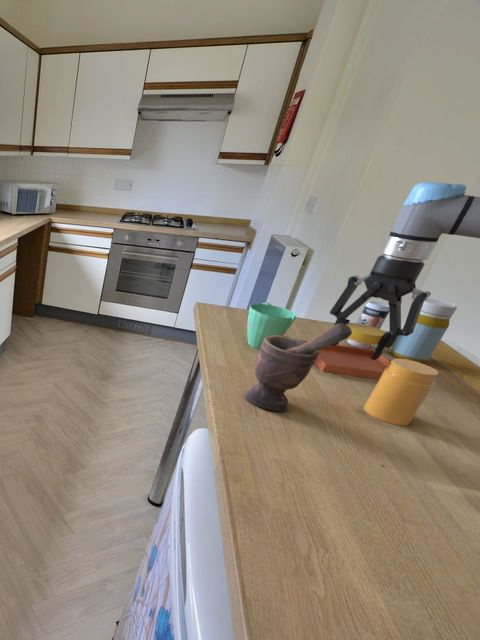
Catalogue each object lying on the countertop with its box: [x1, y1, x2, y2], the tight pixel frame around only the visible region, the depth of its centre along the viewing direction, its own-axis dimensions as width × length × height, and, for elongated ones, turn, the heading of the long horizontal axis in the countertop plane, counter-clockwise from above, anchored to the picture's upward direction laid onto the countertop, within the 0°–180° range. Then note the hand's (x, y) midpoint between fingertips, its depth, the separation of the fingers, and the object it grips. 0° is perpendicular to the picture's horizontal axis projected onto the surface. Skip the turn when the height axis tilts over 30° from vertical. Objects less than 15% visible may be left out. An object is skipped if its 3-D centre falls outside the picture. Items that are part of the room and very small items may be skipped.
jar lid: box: [345, 322, 386, 346], centre depth 97 cm, size 8×8×2 cm
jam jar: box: [363, 358, 439, 426], centre depth 78 cm, size 7×7×11 cm
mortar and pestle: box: [244, 323, 352, 413], centre depth 77 cm, size 12×9×20 cm
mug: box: [246, 302, 297, 350], centre depth 108 cm, size 15×10×10 cm
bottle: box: [390, 298, 458, 364], centre depth 102 cm, size 7×7×15 cm
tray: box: [299, 339, 391, 381], centre depth 100 cm, size 17×14×2 cm
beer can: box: [347, 301, 389, 349], centre depth 108 cm, size 5×5×12 cm
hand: (353, 350), depth 99 cm, fingers closed on jar lid, 7 cm apart
